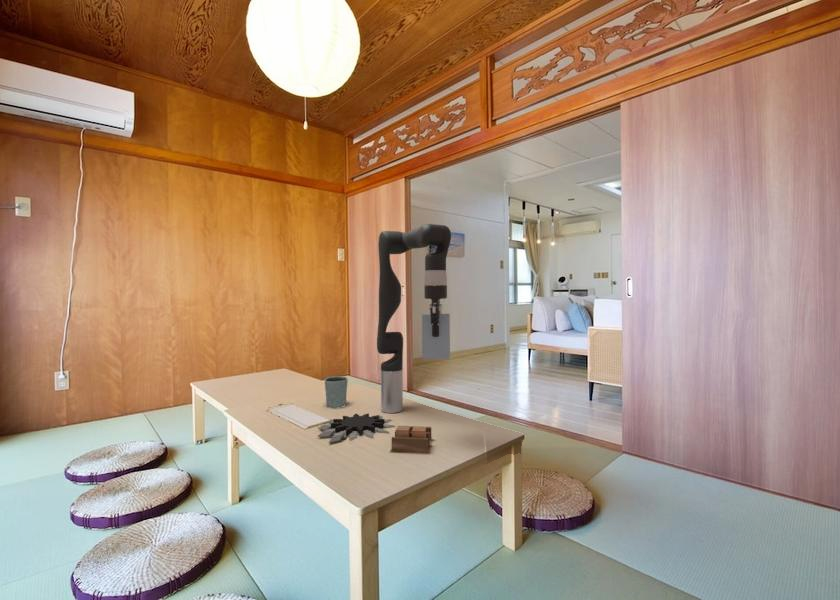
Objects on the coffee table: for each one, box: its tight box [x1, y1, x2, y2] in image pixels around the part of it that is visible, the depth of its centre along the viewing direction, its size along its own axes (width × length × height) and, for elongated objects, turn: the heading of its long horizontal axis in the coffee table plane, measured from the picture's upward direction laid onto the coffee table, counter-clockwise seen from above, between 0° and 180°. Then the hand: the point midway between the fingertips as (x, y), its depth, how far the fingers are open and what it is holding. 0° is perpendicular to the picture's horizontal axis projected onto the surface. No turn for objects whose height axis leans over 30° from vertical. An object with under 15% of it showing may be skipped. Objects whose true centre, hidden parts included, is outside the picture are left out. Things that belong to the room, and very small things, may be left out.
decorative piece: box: [317, 412, 396, 444], centre depth 138 cm, size 30×4×30 cm
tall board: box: [421, 313, 451, 361], centre depth 128 cm, size 3×9×15 cm, turn 82°
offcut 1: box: [395, 426, 410, 437], centre depth 119 cm, size 3×4×6 cm
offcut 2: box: [412, 426, 426, 438], centre depth 118 cm, size 3×4×6 cm
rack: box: [389, 425, 434, 455], centre depth 121 cm, size 12×12×6 cm
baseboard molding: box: [265, 403, 330, 430], centre depth 154 cm, size 31×3×12 cm
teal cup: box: [324, 376, 349, 409], centre depth 171 cm, size 10×10×12 cm
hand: (436, 335), depth 128 cm, fingers closed on tall board, 3 cm apart
